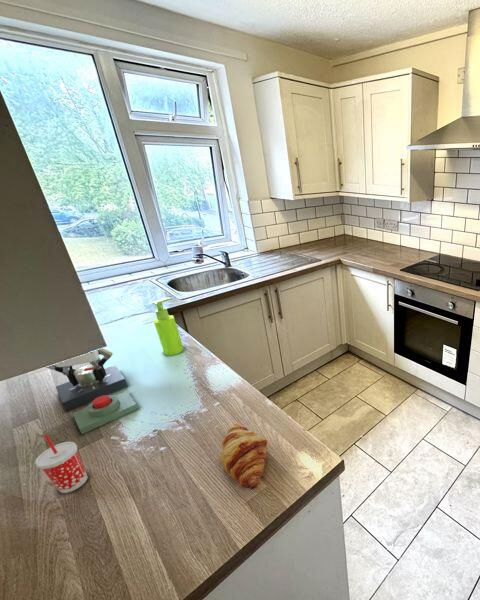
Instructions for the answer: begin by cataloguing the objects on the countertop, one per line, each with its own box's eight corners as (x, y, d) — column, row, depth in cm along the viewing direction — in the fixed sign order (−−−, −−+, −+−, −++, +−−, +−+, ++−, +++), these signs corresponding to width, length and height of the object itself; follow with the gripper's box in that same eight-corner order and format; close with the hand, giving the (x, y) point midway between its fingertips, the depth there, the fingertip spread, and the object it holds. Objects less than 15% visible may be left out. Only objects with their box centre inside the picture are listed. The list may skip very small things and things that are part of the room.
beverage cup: (66, 473, 73) (39, 426, 68) (98, 468, 75) (73, 421, 69) (46, 499, 68) (14, 450, 62) (81, 493, 69) (52, 444, 63)
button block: (81, 434, 84) (76, 424, 82) (74, 417, 89) (69, 407, 87) (138, 408, 92) (134, 398, 91) (128, 395, 97) (124, 385, 96)
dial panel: (66, 411, 91) (61, 402, 90) (59, 394, 97) (55, 385, 96) (128, 386, 101) (124, 378, 100) (118, 372, 107) (114, 364, 106)
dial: (75, 389, 95) (69, 376, 93) (83, 379, 99) (77, 366, 97) (98, 385, 97) (92, 371, 95) (104, 375, 101) (98, 362, 99)
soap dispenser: (189, 347, 121) (175, 298, 113) (171, 356, 116) (154, 305, 107) (179, 343, 124) (164, 295, 115) (160, 353, 118) (143, 302, 110)
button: (96, 411, 87) (93, 406, 86) (93, 405, 89) (90, 400, 88) (113, 403, 89) (110, 398, 89) (109, 398, 92) (107, 393, 91)
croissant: (226, 446, 85) (203, 432, 80) (259, 417, 88) (238, 402, 83) (246, 511, 69) (219, 498, 64) (285, 472, 72) (262, 458, 67)
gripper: (108, 316, 96) (128, 367, 104) (31, 327, 90) (59, 380, 98) (98, 328, 90) (120, 381, 98) (15, 340, 84) (46, 396, 91)
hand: (89, 380), depth 98 cm, fingers closed on dial, 5 cm apart
